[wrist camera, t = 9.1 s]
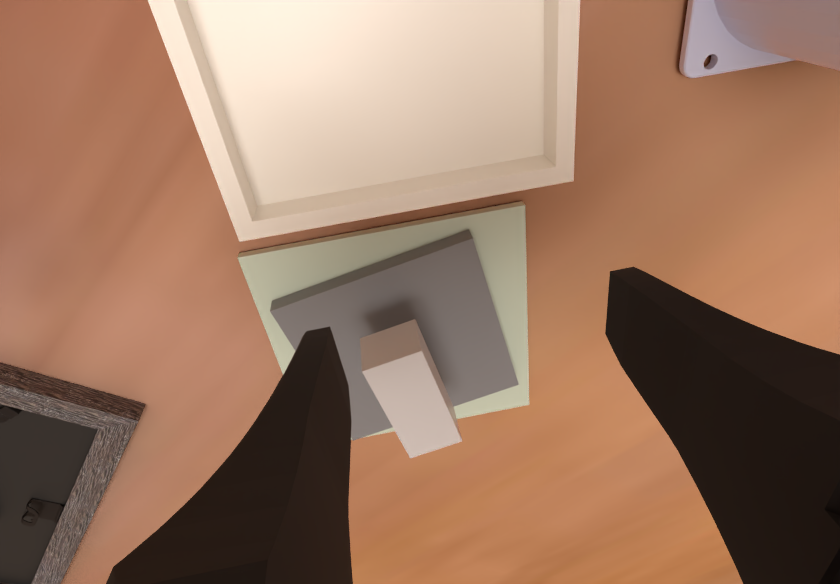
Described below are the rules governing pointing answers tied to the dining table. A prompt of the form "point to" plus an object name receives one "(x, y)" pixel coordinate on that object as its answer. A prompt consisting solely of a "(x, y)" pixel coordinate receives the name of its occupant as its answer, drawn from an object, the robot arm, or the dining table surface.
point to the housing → (374, 102)
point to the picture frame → (53, 468)
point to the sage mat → (340, 254)
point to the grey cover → (409, 339)
